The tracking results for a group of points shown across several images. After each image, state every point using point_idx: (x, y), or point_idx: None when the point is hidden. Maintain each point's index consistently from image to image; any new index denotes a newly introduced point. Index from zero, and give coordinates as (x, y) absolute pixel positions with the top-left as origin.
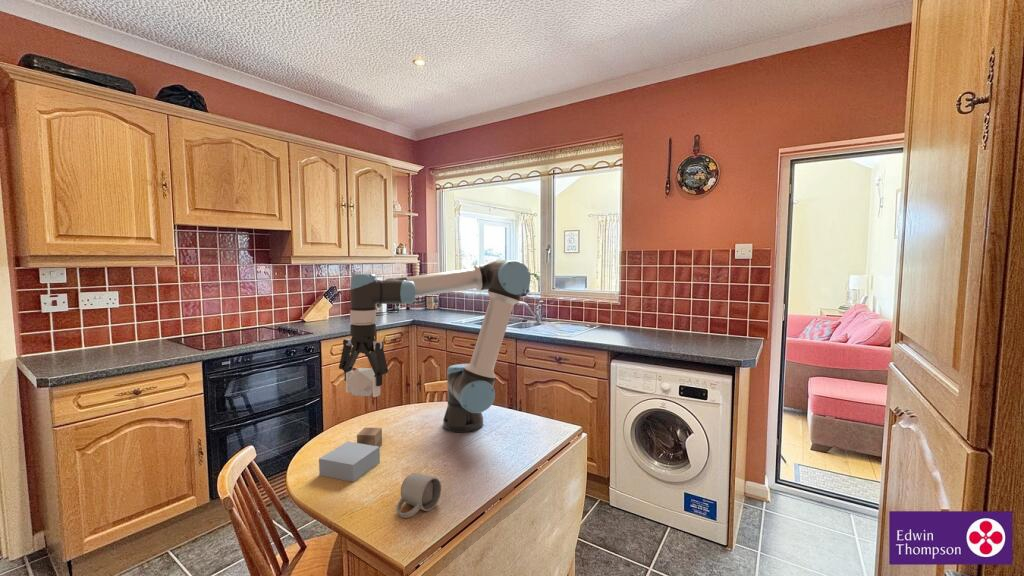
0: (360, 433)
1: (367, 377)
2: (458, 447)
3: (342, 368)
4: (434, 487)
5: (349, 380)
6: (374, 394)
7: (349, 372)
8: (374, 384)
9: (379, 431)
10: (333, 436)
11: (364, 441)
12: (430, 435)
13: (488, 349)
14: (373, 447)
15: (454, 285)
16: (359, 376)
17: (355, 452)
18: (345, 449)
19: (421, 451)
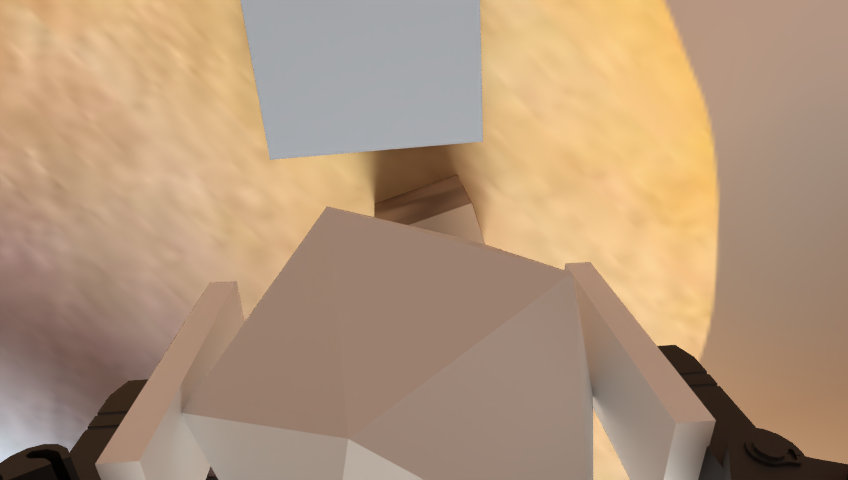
0: (466, 225)
1: (242, 418)
2: (72, 382)
3: (846, 476)
4: None
5: (517, 281)
6: (203, 299)
7: (667, 448)
8: (157, 371)
9: None
10: (676, 255)
11: (427, 205)
12: None
13: None
14: (292, 139)
15: None
16: (334, 363)
17: (337, 48)
18: (419, 56)
19: (191, 295)
